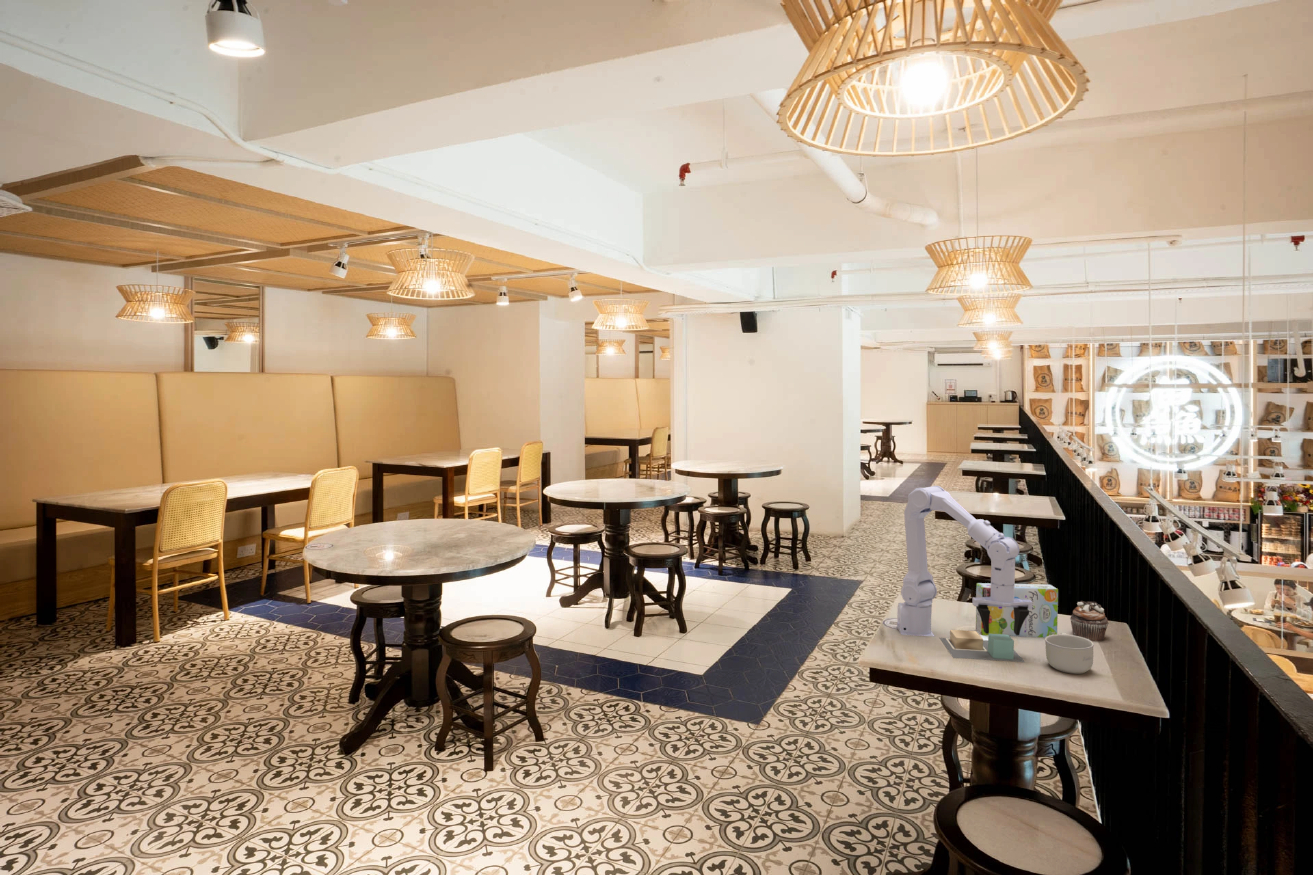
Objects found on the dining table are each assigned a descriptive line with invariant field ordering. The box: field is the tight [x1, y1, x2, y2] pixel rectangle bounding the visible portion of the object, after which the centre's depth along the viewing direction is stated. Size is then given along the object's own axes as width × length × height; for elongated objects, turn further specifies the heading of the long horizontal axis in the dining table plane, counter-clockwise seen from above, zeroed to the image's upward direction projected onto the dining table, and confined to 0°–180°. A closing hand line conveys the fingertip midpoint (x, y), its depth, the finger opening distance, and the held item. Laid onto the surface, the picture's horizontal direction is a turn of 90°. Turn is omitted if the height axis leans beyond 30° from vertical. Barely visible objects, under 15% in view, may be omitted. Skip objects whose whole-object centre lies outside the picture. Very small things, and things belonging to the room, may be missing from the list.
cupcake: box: [1069, 600, 1109, 642], centre depth 207 cm, size 10×10×10 cm
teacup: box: [1044, 632, 1095, 675], centre depth 182 cm, size 14×11×8 cm
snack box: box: [975, 582, 1059, 638], centre depth 208 cm, size 21×6×15 cm, turn 84°
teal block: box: [987, 634, 1015, 659], centre depth 190 cm, size 5×5×5 cm
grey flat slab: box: [939, 637, 1026, 663], centre depth 195 cm, size 18×16×1 cm
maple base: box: [949, 629, 984, 650], centre depth 198 cm, size 7×7×3 cm
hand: (1001, 633), depth 190 cm, fingers open, 7 cm apart
